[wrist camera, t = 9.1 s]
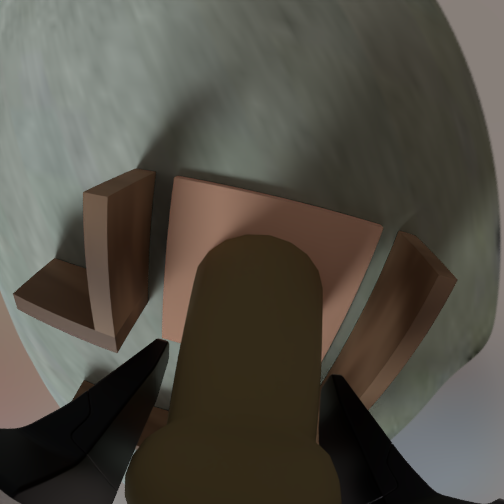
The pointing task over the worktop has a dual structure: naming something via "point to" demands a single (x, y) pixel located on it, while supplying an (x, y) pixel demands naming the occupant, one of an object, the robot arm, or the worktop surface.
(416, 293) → the bent channel
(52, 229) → the worktop surface
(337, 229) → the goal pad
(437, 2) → the worktop surface
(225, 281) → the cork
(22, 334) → the worktop surface
